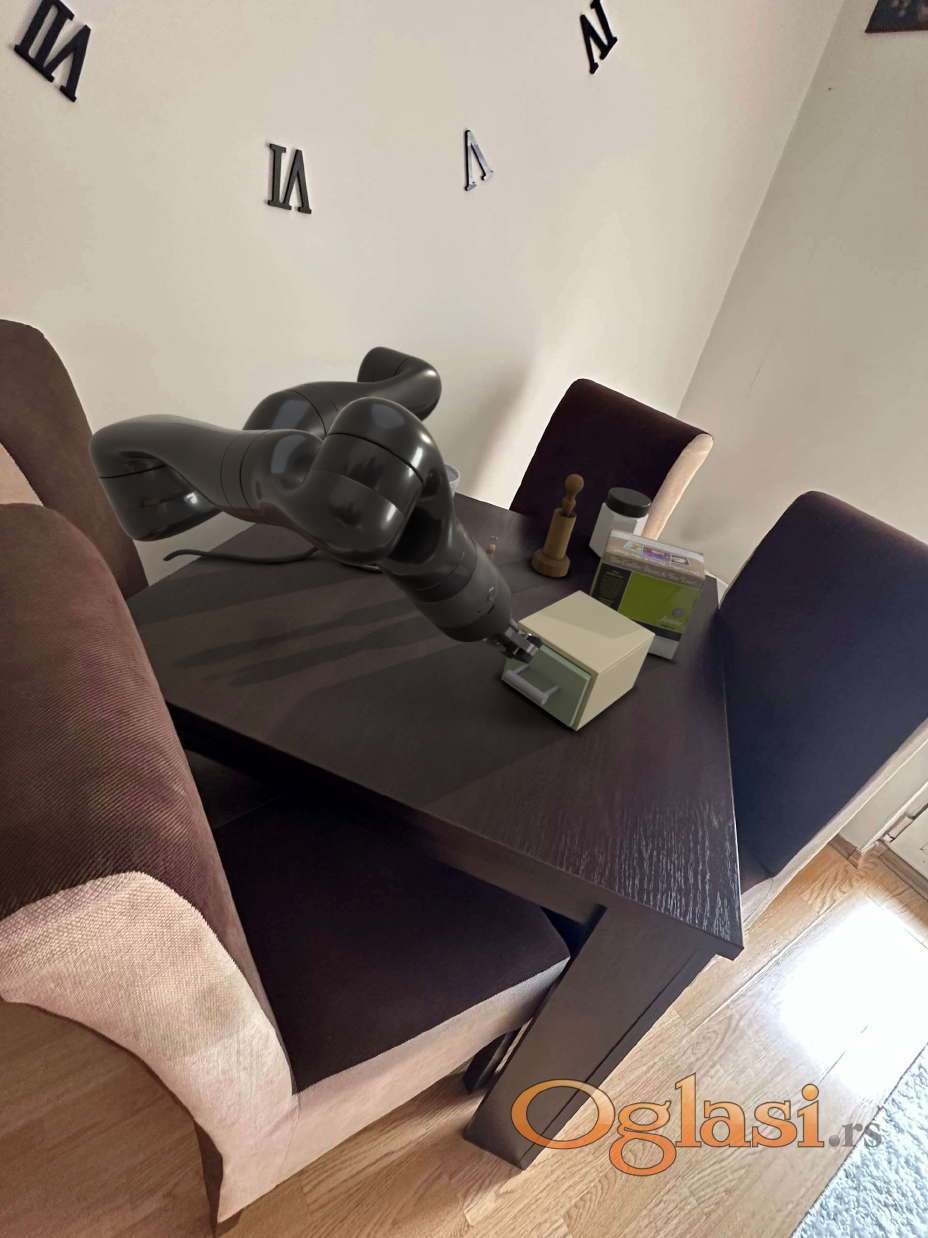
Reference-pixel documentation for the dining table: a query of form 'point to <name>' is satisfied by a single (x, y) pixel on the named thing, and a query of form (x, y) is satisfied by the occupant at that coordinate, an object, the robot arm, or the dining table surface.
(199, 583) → the dining table surface
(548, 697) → the drawer
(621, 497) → the jar
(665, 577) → the tea box
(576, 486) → the mortar and pestle
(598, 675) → the cabinet
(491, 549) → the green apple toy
